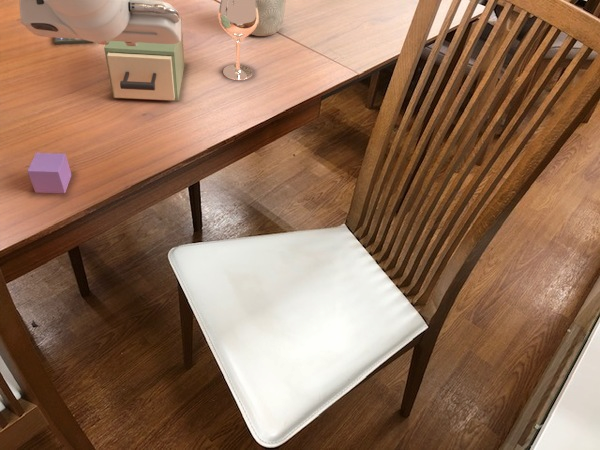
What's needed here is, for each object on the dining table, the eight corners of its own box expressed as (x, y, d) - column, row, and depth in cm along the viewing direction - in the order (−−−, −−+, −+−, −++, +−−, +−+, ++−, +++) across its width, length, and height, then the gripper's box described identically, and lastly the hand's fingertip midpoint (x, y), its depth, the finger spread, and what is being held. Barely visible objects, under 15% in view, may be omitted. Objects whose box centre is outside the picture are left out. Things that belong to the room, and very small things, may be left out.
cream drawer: (171, 114, 97) (167, 72, 90) (109, 111, 95) (101, 69, 89) (180, 65, 109) (177, 26, 103) (126, 62, 108) (119, 22, 102)
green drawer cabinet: (178, 101, 102) (174, 51, 94) (113, 98, 100) (103, 47, 92) (184, 64, 112) (181, 17, 104) (125, 61, 110) (118, 13, 103)
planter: (230, 37, 123) (230, -9, 115) (238, 15, 131) (238, -29, 124) (281, 43, 123) (284, -2, 115) (285, 21, 132) (289, -23, 124)
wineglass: (241, 60, 116) (243, -22, 103) (263, 76, 112) (268, -8, 99) (211, 69, 111) (209, -15, 98) (233, 86, 107) (234, 1, 95)
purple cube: (35, 192, 80) (27, 170, 77) (43, 174, 83) (35, 152, 80) (65, 193, 81) (58, 171, 77) (71, 175, 84) (65, 153, 80)
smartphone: (54, 44, 112) (53, 39, 111) (57, 14, 122) (56, 9, 121) (93, 43, 114) (92, 38, 113) (92, 14, 124) (91, 9, 123)
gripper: (177, -17, 65) (188, 24, 79) (7, -29, 62) (49, 15, 76) (176, 33, 65) (187, 64, 79) (7, 22, 62) (48, 57, 76)
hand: (118, 40), depth 77 cm, fingers open, 3 cm apart
